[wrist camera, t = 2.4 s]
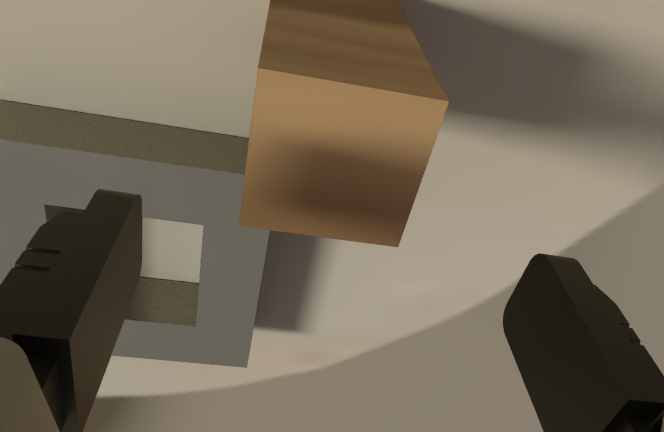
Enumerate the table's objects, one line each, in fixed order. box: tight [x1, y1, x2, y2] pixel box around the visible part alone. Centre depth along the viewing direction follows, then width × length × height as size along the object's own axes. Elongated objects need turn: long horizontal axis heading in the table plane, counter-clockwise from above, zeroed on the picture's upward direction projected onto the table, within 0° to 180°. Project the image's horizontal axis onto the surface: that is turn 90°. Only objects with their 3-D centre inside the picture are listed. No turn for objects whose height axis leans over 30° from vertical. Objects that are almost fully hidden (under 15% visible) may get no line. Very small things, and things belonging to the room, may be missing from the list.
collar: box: [0, 100, 270, 368], centre depth 25 cm, size 12×12×3 cm
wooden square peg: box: [238, 0, 449, 247], centre depth 17 cm, size 4×4×10 cm
